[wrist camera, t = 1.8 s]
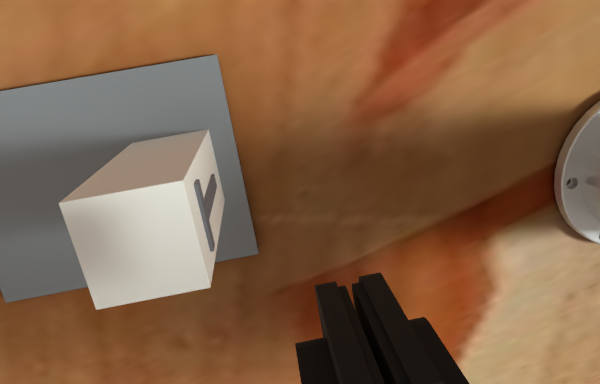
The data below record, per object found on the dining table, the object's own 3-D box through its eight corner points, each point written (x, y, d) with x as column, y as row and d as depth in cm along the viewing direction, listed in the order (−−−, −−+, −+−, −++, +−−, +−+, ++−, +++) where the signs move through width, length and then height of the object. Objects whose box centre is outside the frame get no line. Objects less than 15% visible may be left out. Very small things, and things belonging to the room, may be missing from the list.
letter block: (211, 128, 30) (187, 179, 18) (227, 199, 31) (214, 286, 20) (132, 142, 29) (58, 203, 18) (152, 213, 31) (96, 309, 20)
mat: (217, 54, 29) (216, 54, 28) (258, 250, 33) (258, 254, 33) (-72, 103, 28) (-79, 104, 27) (10, 298, 32) (6, 302, 32)
